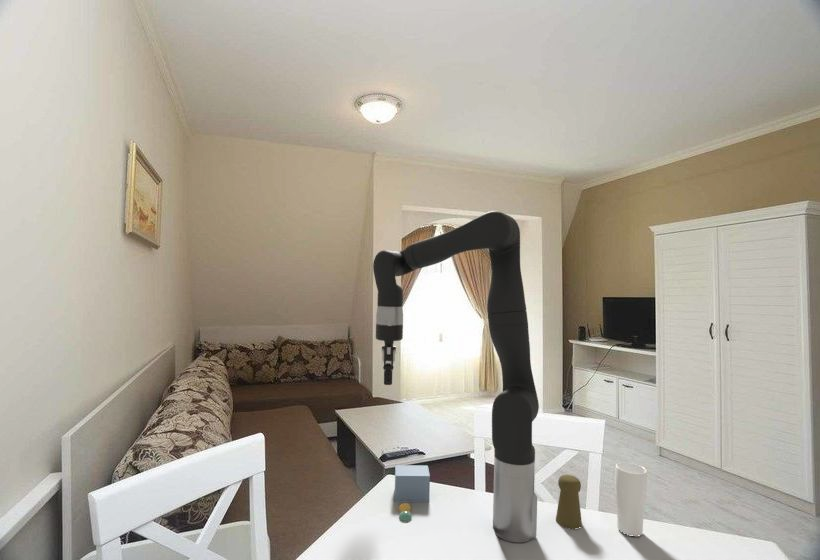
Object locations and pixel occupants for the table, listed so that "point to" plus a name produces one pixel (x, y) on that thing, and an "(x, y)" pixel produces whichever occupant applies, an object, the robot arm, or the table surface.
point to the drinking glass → (630, 497)
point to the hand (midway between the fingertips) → (388, 381)
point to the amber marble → (404, 507)
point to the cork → (569, 502)
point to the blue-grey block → (412, 483)
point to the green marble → (405, 516)
